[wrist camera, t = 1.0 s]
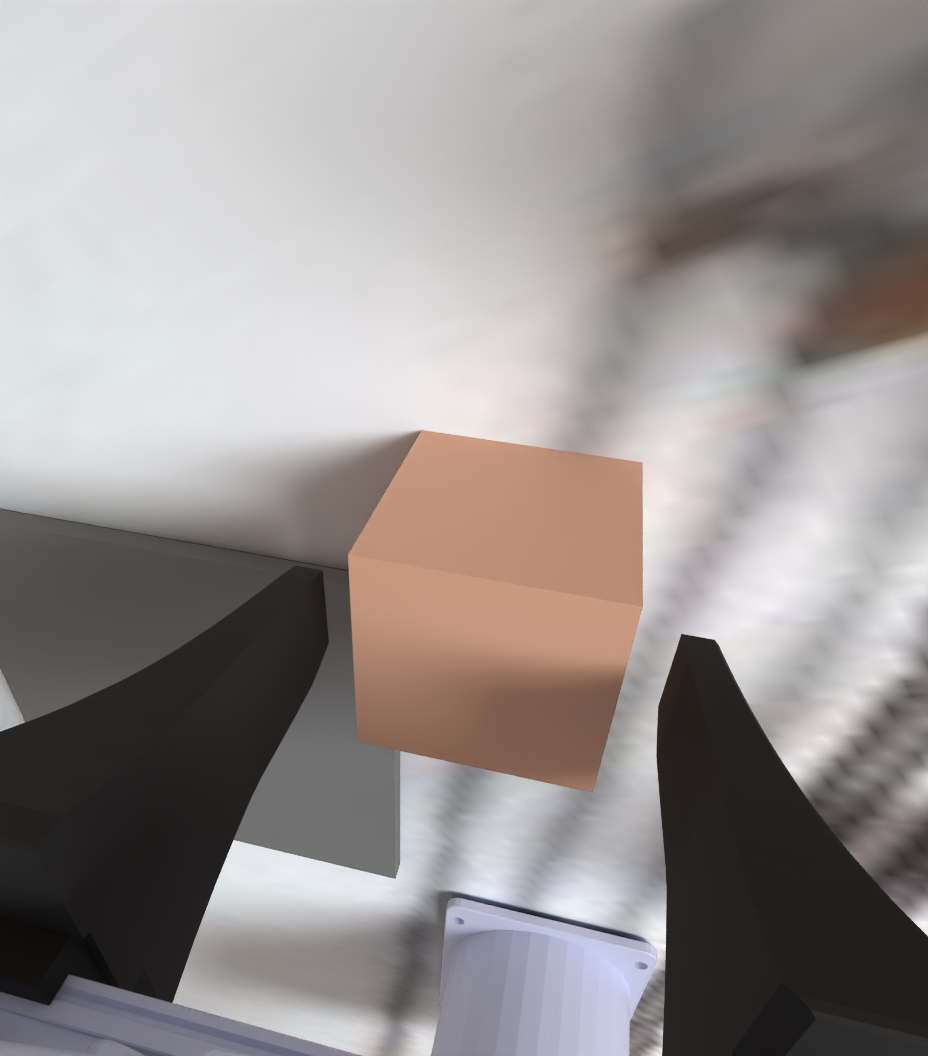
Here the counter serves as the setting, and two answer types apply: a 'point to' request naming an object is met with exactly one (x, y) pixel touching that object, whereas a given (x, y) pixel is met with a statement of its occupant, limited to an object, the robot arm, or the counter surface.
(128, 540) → the mat
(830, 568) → the counter surface
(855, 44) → the counter surface
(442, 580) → the cube
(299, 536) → the counter surface
